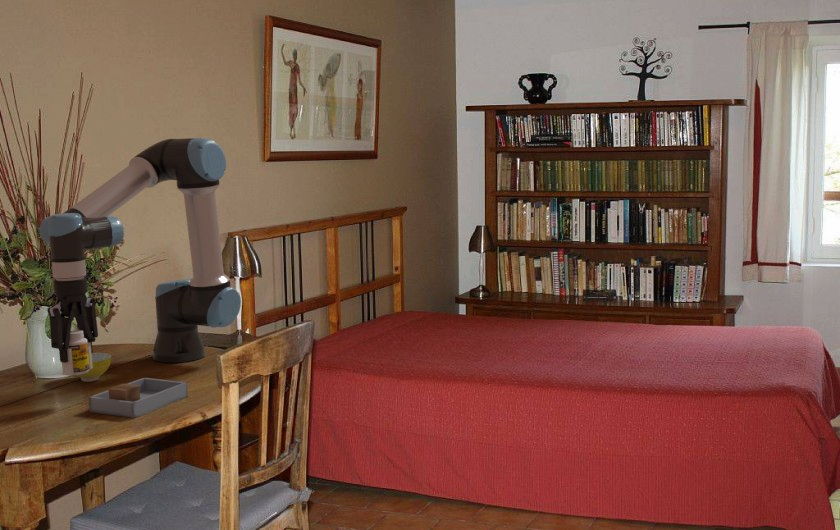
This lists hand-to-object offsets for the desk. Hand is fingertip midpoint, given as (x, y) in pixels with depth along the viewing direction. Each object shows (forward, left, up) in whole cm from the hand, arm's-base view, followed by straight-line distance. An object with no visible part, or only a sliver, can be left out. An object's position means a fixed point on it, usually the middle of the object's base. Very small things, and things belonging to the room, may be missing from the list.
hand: (78, 371), depth 224 cm
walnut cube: (0, +14, -8) cm, 16 cm away
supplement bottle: (0, 0, -1) cm, 1 cm away
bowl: (-19, -15, -9) cm, 26 cm away
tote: (-5, +14, -8) cm, 17 cm away
